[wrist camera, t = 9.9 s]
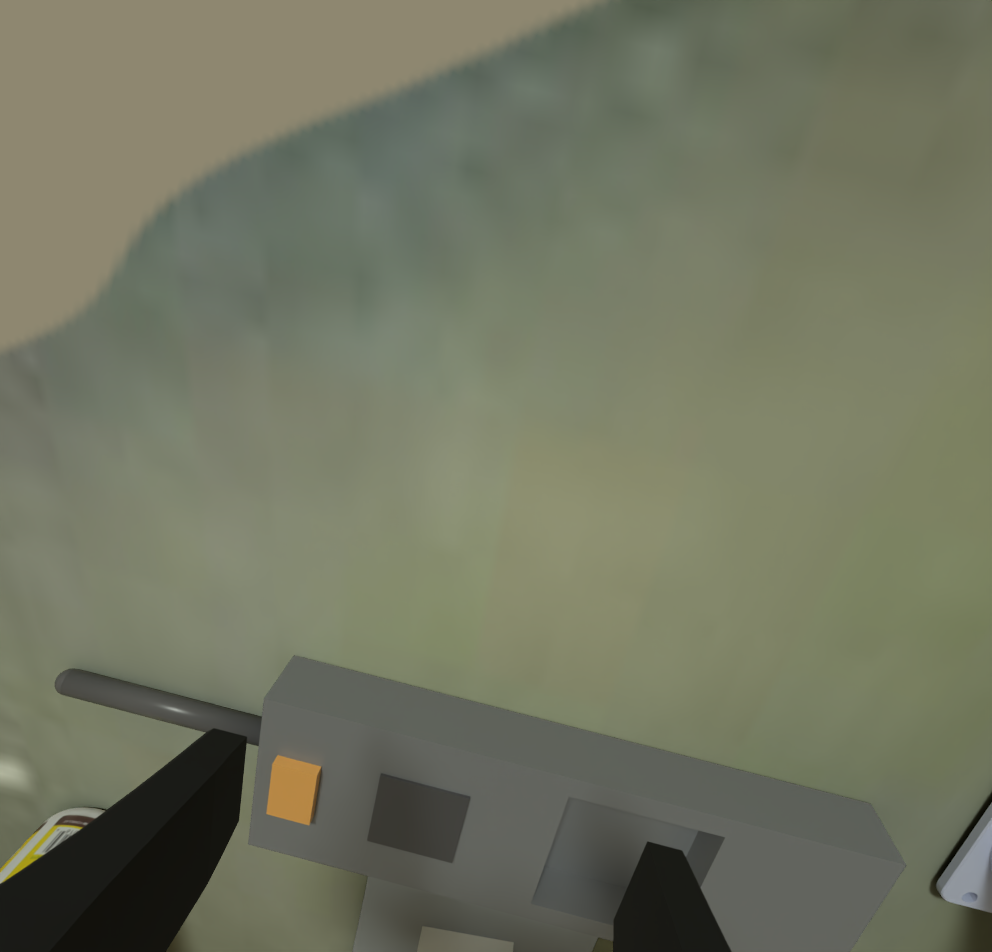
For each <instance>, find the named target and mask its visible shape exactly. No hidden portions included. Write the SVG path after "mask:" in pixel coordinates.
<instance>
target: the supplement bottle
mask: <svg viewBox="0 0 992 952" xmlns="http://www.w3.org/2000/svg"><path fill="white" fill-rule="evenodd" d="M103 812H105V810H101V809H97V808H88V807H80V808H71V809H67V810H64V811H61V812H59V813H57V814H55V815H53V816H52V817H50V818H49V819H48V820H46V821H45V822H44V823H43V824H42V825H41V826H40V827H39V828H38V829H37V830H36V831H35V832H34V833H33V835H32V836H31V837H30V838H29V839H28V840H27V841H26V842H25V843H24V844H23V845H22V846H21V847H20V848H19V849H18V850H17V852H16V853H15V854H14V855H13V856H12V857H11V858H10V859H9V860H8V861H7V862H6V863H5V865H4V866H3V867H2V868H1V869H0V884H1V883H2V882H4V881H5V880H7V879H9V878H10V877H12V876H13V875H15V874H16V873H18V872H19V871H21V870H22V869H24V868H25V867H27V866H28V865H29V864H31V863H32V862H34V861H35V860H37V859H38V858H40V857H41V856H43V855H44V854H45V853H47V852H48V851H50V850H51V849H53V848H54V847H56V846H57V845H59V844H60V843H61V842H63V841H64V840H66V839H67V838H69V837H70V836H72V835H73V834H75V833H76V832H77V831H79V830H80V829H82V828H83V827H84V826H86V825H87V824H89V823H90V822H91V821H93V820H94V819H95V818H97V817H98V816H99V815H101V814H102V813H103Z"/></svg>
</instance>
